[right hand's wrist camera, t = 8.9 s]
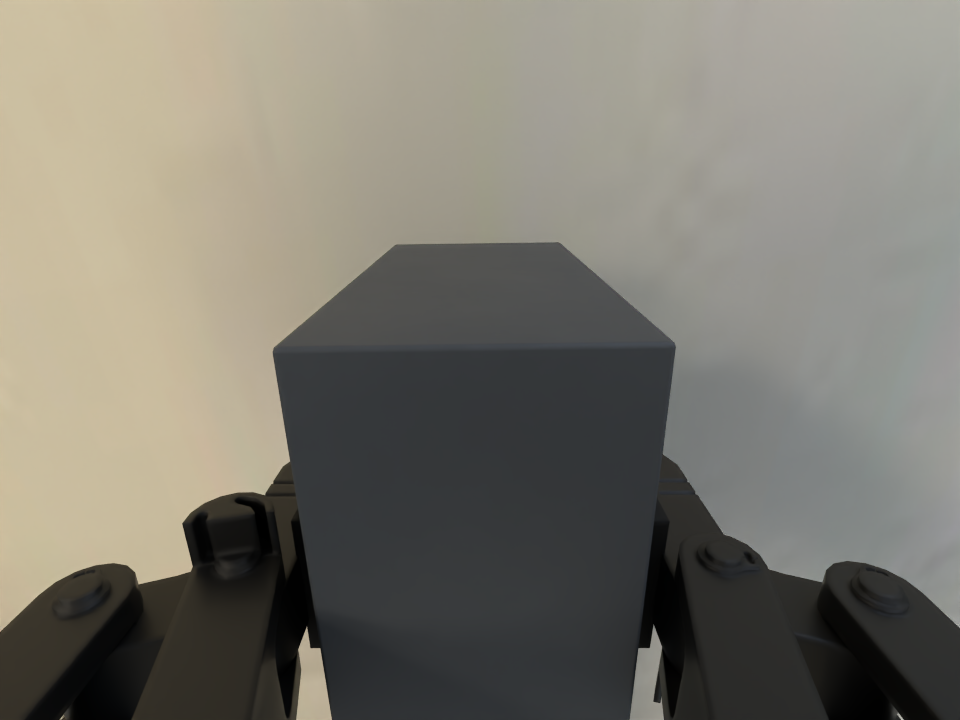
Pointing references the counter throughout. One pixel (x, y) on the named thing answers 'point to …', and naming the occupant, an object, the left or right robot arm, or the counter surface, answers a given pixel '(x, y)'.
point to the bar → (477, 483)
